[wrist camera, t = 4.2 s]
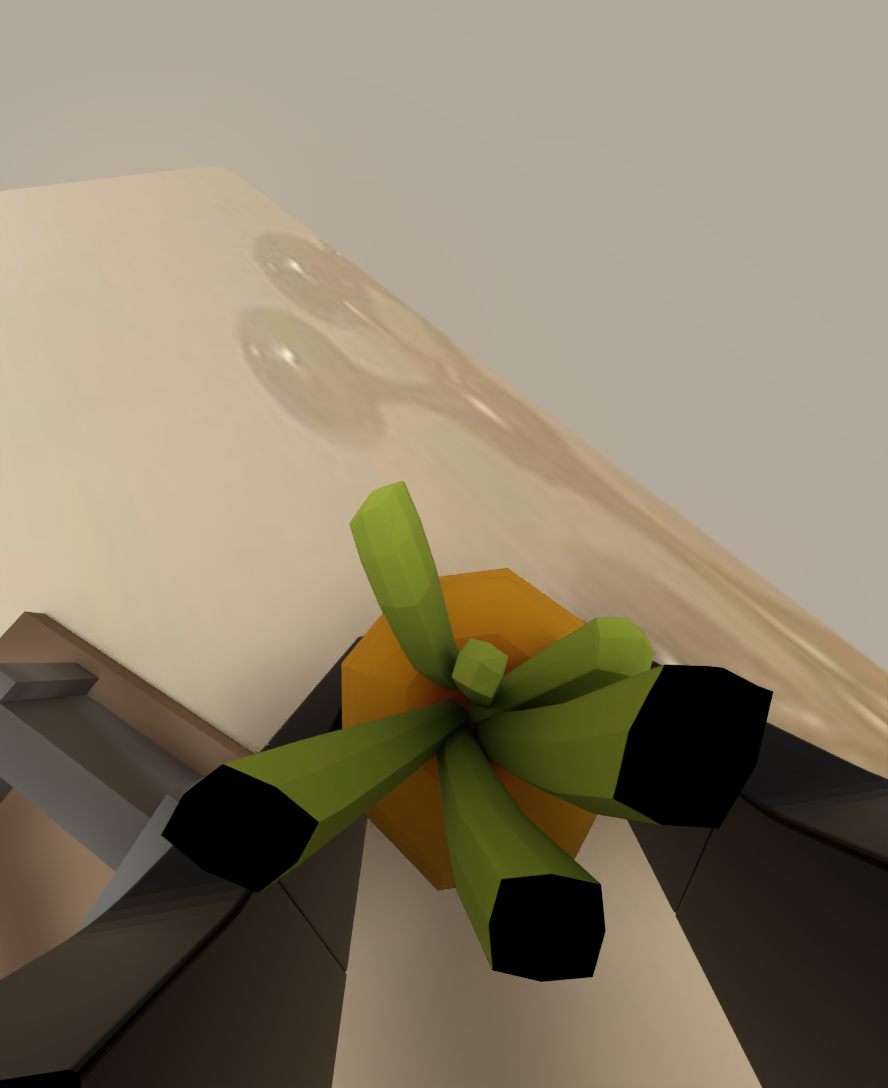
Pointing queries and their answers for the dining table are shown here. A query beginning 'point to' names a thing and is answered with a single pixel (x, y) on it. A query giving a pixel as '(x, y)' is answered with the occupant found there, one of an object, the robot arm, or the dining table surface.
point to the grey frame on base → (83, 782)
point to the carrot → (485, 751)
